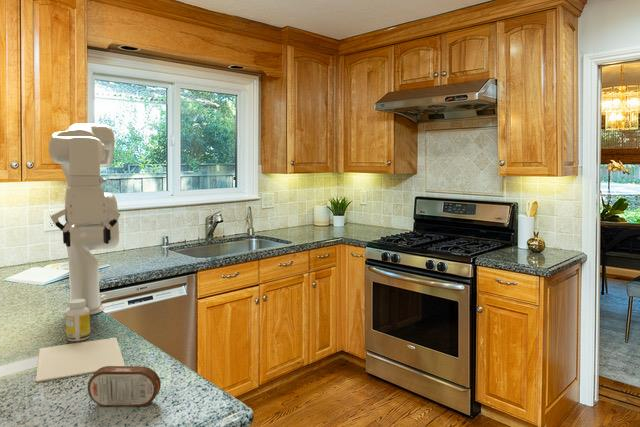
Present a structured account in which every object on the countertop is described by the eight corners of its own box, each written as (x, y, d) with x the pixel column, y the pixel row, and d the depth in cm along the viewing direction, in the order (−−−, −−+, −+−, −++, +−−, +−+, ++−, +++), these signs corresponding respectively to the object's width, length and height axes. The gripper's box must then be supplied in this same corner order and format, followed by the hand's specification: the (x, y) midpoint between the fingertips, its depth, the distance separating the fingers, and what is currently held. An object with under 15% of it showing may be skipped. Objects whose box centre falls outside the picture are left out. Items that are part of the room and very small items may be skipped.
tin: (161, 401, 108) (160, 364, 107) (157, 408, 105) (156, 370, 104) (92, 402, 107) (91, 364, 106) (86, 408, 104) (84, 370, 103)
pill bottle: (94, 334, 150) (92, 297, 149) (84, 342, 144) (83, 303, 143) (72, 334, 150) (71, 297, 149) (62, 342, 144) (60, 303, 143)
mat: (39, 349, 138) (39, 348, 138) (116, 338, 147) (116, 337, 147) (35, 382, 116) (35, 380, 116) (125, 367, 126) (125, 365, 126)
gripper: (115, 181, 141) (117, 240, 142) (47, 182, 131) (50, 245, 132) (122, 182, 135) (123, 243, 136) (51, 183, 125) (54, 249, 126)
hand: (87, 244), depth 134 cm, fingers open, 9 cm apart
